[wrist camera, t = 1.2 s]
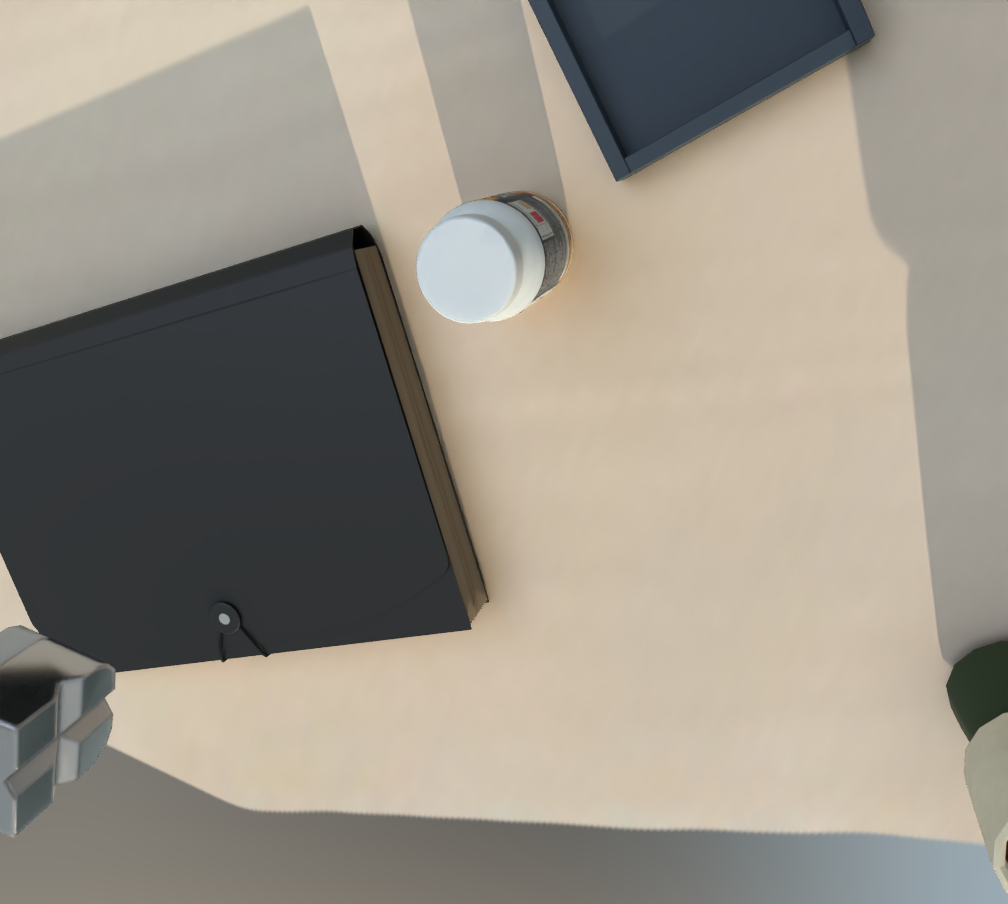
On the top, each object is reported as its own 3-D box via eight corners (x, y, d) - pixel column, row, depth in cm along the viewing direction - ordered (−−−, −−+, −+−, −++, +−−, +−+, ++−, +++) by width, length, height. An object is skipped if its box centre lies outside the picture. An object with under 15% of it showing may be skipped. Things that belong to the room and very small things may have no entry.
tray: (768, -203, 37) (768, -221, 35) (870, 40, 39) (875, 35, 37) (521, -29, 42) (510, -36, 40) (622, 180, 44) (616, 182, 42)
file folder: (56, 684, 62) (-89, 364, 56) (96, 654, 66) (-35, 352, 60) (470, 635, 51) (341, 228, 45) (491, 603, 54) (374, 222, 49)
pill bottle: (515, 167, 45) (452, 173, 36) (597, 239, 45) (555, 262, 36) (453, 251, 48) (380, 276, 39) (531, 320, 48) (476, 360, 39)
